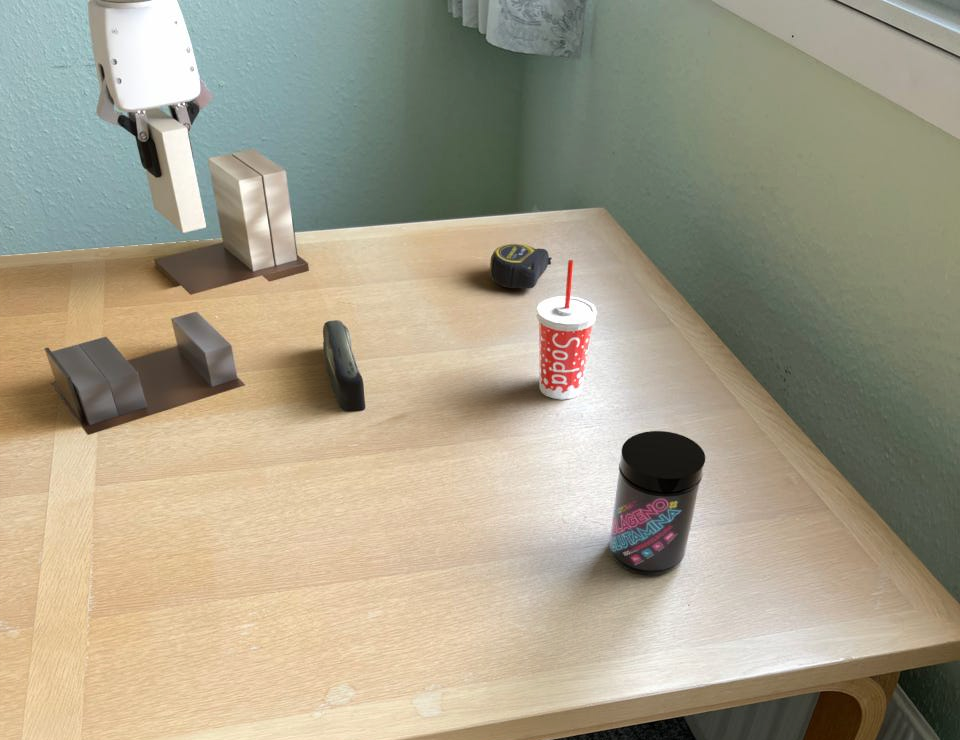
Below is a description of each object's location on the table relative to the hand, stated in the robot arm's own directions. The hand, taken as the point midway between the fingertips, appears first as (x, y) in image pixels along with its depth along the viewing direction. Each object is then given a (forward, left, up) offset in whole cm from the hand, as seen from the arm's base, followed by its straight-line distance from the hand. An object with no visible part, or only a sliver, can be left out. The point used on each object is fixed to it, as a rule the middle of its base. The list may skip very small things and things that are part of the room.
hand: (169, 169), depth 112 cm
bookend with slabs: (+5, 0, -13) cm, 14 cm away
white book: (0, 0, -6) cm, 6 cm away
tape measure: (+34, -24, -13) cm, 44 cm away
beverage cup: (+22, -47, -13) cm, 54 cm away
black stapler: (+3, -33, -13) cm, 36 cm away
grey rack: (-15, -23, -13) cm, 30 cm away
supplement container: (+11, -73, -13) cm, 75 cm away
